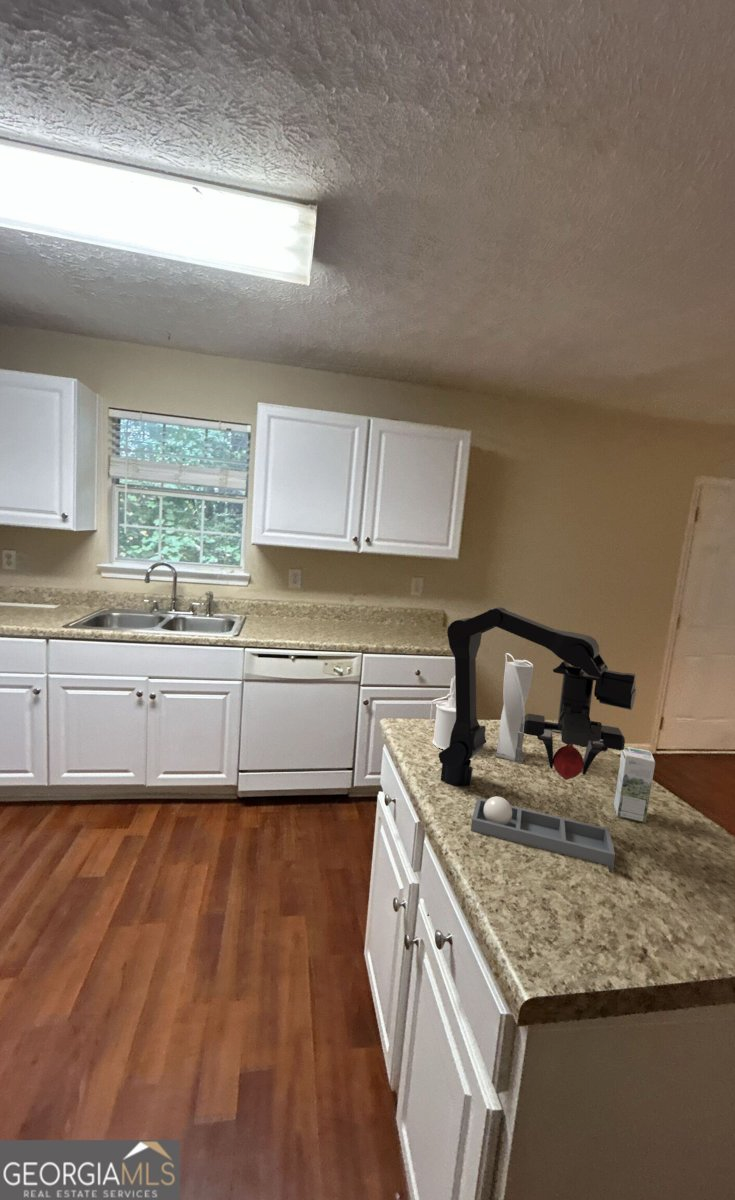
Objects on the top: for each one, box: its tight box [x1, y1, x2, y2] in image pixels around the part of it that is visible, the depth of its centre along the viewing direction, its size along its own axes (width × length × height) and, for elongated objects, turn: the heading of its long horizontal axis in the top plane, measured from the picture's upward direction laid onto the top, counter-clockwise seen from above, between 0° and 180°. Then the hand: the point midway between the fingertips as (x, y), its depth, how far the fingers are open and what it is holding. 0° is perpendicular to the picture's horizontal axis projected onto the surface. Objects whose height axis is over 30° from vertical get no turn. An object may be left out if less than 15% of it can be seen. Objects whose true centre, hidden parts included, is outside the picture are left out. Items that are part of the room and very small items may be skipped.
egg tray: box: [470, 797, 616, 874], centre depth 98 cm, size 25×9×4 cm, turn 71°
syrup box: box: [613, 745, 656, 823], centre depth 110 cm, size 6×6×14 cm
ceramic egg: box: [483, 795, 512, 825], centre depth 101 cm, size 6×6×6 cm
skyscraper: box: [494, 652, 534, 765], centre depth 137 cm, size 8×8×28 cm
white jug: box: [429, 675, 456, 751], centre depth 141 cm, size 10×9×20 cm
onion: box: [553, 744, 584, 781], centre depth 103 cm, size 6×6×8 cm
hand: (567, 770), depth 104 cm, fingers closed on onion, 6 cm apart
